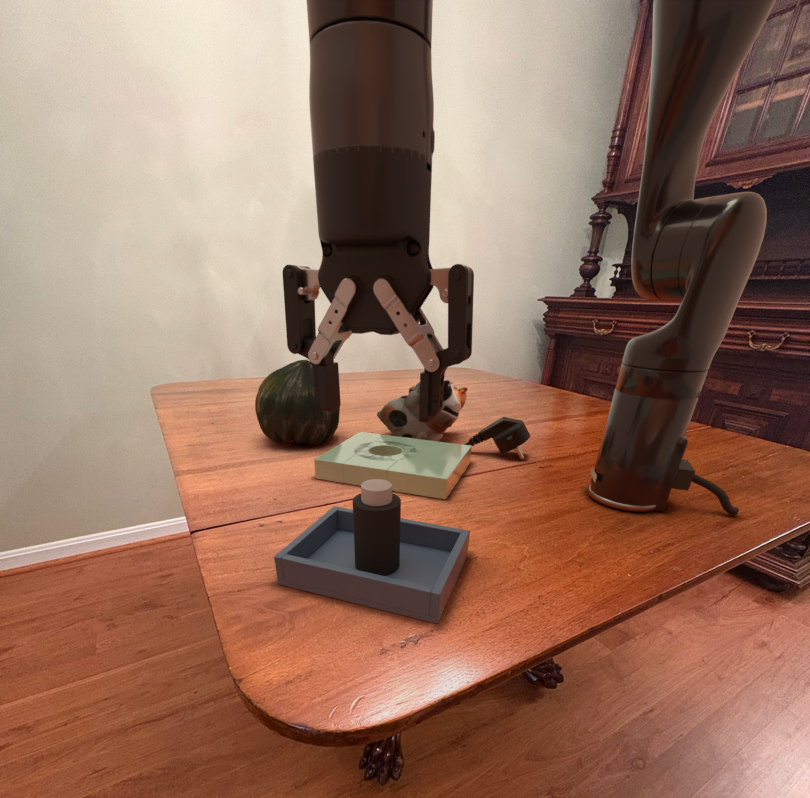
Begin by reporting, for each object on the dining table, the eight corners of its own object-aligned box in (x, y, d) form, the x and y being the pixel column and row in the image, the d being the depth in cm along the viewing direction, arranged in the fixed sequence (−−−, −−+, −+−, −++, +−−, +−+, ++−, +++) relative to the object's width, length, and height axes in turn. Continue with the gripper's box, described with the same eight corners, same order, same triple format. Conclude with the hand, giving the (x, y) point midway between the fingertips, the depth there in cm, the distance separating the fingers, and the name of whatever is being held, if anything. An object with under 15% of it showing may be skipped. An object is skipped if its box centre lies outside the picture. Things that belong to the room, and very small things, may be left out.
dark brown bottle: (405, 557, 43) (407, 479, 39) (390, 581, 40) (390, 497, 35) (366, 549, 44) (364, 473, 40) (347, 571, 41) (343, 489, 37)
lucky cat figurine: (416, 424, 91) (452, 365, 84) (449, 459, 86) (490, 400, 79) (364, 413, 80) (400, 344, 73) (398, 453, 75) (440, 383, 68)
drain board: (470, 463, 71) (472, 445, 69) (445, 499, 57) (447, 479, 56) (360, 448, 76) (360, 431, 75) (315, 478, 63) (313, 459, 62)
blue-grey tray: (467, 556, 45) (470, 530, 43) (437, 624, 35) (440, 594, 34) (335, 529, 49) (333, 505, 48) (277, 584, 40) (273, 556, 38)
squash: (252, 401, 82) (249, 342, 69) (328, 400, 88) (339, 346, 74) (261, 465, 78) (260, 417, 65) (341, 461, 84) (355, 415, 70)
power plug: (456, 442, 78) (516, 406, 73) (476, 475, 80) (536, 444, 75) (453, 451, 73) (517, 414, 68) (474, 487, 75) (538, 454, 70)
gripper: (240, 148, 26) (277, 418, 34) (471, 125, 22) (450, 437, 30) (305, 177, 32) (323, 399, 40) (495, 163, 28) (472, 413, 36)
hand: (377, 415), depth 35 cm, fingers open, 8 cm apart
